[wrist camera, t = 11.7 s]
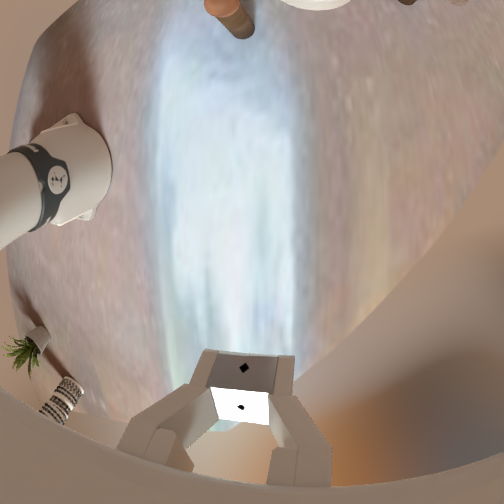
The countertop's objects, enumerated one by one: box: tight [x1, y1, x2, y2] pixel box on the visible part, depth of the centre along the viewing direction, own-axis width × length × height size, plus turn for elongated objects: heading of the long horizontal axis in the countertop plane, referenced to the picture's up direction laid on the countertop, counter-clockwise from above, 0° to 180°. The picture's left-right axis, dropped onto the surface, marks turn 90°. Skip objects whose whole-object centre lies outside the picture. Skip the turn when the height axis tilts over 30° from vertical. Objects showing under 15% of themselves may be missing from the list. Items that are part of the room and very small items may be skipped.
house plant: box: [2, 325, 51, 382], centre depth 58 cm, size 14×14×16 cm
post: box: [204, 0, 255, 39], centre depth 24 cm, size 3×3×12 cm
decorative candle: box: [39, 376, 84, 425], centre depth 65 cm, size 9×9×25 cm
